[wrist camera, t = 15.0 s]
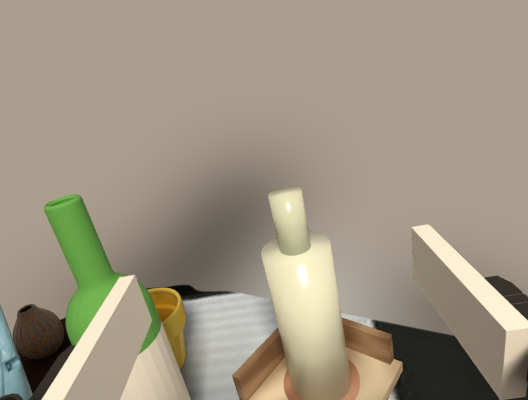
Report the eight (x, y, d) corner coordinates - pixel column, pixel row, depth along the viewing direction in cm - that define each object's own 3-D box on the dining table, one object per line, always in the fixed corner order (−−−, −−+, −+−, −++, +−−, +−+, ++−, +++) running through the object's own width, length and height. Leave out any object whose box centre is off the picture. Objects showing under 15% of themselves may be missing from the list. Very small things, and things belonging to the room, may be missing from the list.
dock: (241, 406, 42) (232, 375, 41) (306, 331, 52) (300, 303, 50) (347, 476, 33) (341, 440, 31) (402, 369, 42) (400, 337, 41)
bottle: (280, 388, 42) (233, 203, 34) (312, 349, 46) (278, 178, 38) (331, 418, 37) (292, 211, 29) (361, 370, 42) (335, 181, 34)
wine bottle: (168, 498, 34) (38, 224, 24) (118, 464, 39) (-10, 218, 28) (216, 427, 40) (129, 182, 30) (168, 404, 45) (77, 183, 34)
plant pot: (206, 334, 55) (189, 282, 52) (188, 392, 46) (165, 333, 42) (145, 340, 57) (125, 290, 54) (115, 397, 47) (88, 341, 44)
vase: (69, 329, 64) (50, 289, 61) (70, 352, 58) (48, 309, 55) (27, 348, 61) (4, 308, 58) (23, 374, 56) (-3, 330, 53)
